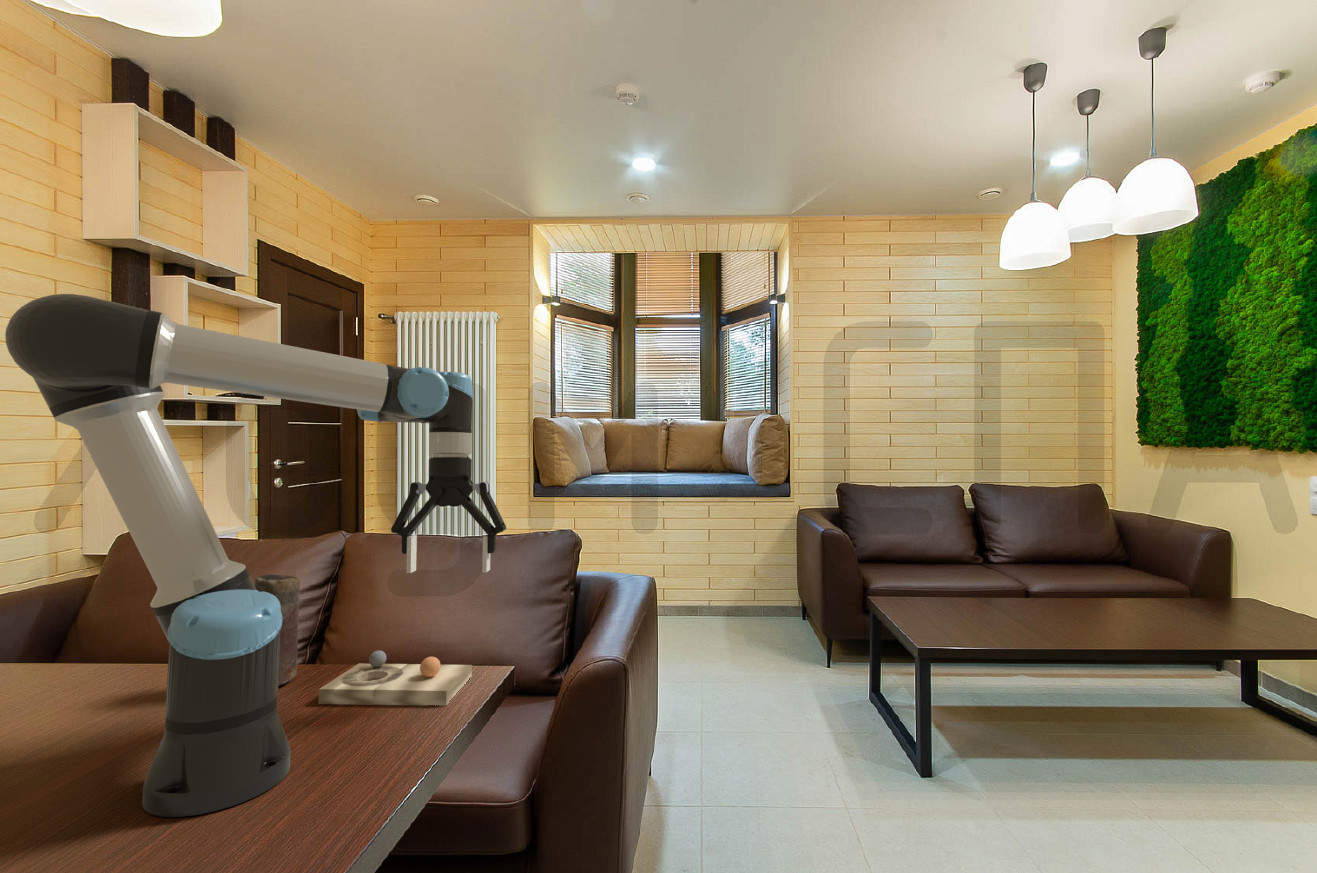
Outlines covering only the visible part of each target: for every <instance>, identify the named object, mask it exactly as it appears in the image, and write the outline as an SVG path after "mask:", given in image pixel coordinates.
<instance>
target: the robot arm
mask: <svg viewBox="0 0 1317 873" xmlns="http://www.w3.org/2000/svg"><path fill="white" fill-rule="evenodd" d="M4 336H5V337H4V338H5V344H6V348H7V351H8V354H10V356H11V358H12V360H13V361H14V363H15V364H16V365H17V366H18V367H19V368H20V369H21V370H23V371H24V372H25V373H26V374H27V375H29V376H30V377H32V378H33V380H34V382H35V385H36V386H37V388H38V390H39V392H40V393H41V395H42V398H43V400H44V401H45V403H46V405H47V407H48V409H49V411H50V414H52V416H53V418H54V421H55V422H57V423H61V424H63V425H67V426H69V427H73V428H74V429H75V430H77V433H79V435H80V438H81V440H82V442H83V444H84V446H85V447H86V450H87V452H88V453H89V455H90V458H91V459H92V461H93V463H94V465H95V468H96V469H97V471H98V473H99V475H100V477H101V479H102V481H103V483H104V485H105V487H106V489H107V490H108V493H109V496H110V497H111V499H112V501H113V503H114V505H115V506H116V508H117V511H118V513H119V515H120V517H121V518H122V520H123V522H124V525H125V527H126V528H127V530H128V532H129V534H130V536H131V538H132V540H133V542H134V544H135V546H136V548H137V550H138V552H139V554H140V556H141V558H142V560H143V561H144V564H145V566H146V568H147V570H148V572H149V574H150V576H151V578H152V580H153V582H154V584H155V586H156V588H157V589H156V593H155V594H154V596H153V598H152V600H151V602H150V603H149V605H150V608H151V610H152V612H153V614H154V615H155V617H156V620H157V621H158V623H159V625H160V627H161V630H162V631H163V633H164V635H165V637H166V639H167V641H168V661H167V679H166V680H167V681H166V697H165V698H166V699H165V718H164V719H165V721H164V722H165V723H164V733H163V737H162V739H161V741H160V743H159V746H158V748H157V750H156V754H155V755H154V757H153V760H152V762H151V764H150V767H149V770H148V772H147V774H146V777H145V779H144V782H143V785H142V786H143V787H142V797H141V798H142V800H141V805H142V809H143V810H144V811H146V812H147V813H149V814H151V815H154V816H158V817H166V818H179V817H181V818H182V817H192V816H197V815H203V814H209V813H212V812H216V811H220V810H223V809H227V808H230V807H233V806H236V805H238V804H241V803H244V802H247V801H249V800H251V799H254V798H256V797H258V796H260V795H262V794H264V793H265V792H268V791H269V790H270V789H272V788H273V787H275V786H277V785H278V784H279V783H280V782H282V780H283V779H285V777H287V775H288V773H289V772H290V768H291V747H290V744H289V741H288V738H287V735H286V733H285V730H284V726H283V725H282V722H281V718H280V716H279V713H278V697H279V696H278V694H279V692H278V691H279V686H278V674H279V648H280V629H281V626H282V619H283V618H282V613H281V605H280V602H279V600H278V599H277V598H276V597H275V596H274V595H272V594H270V593H267V592H259V591H258V590H257V589H256V587H255V582H254V581H253V579H252V576H251V574H250V573H249V571H248V569H247V566H246V564H244V563H241V562H237V561H234V560H233V561H232V560H230V559H229V558H228V556H227V553H226V551H225V549H224V547H223V545H222V543H221V540H220V538H219V536H218V534H217V532H216V530H215V528H214V525H213V523H212V522H211V519H210V518H209V516H208V513H207V511H206V510H205V506H204V504H203V503H202V500H201V499H200V497H199V494H198V492H197V490H196V488H195V486H194V484H193V482H192V480H191V478H190V474H188V471H187V469H186V467H185V465H184V463H183V460H182V459H181V457H180V455H179V452H178V450H177V448H176V446H175V444H174V441H173V440H172V437H171V436H170V433H169V431H168V430H167V427H166V425H165V423H164V421H163V419H162V417H161V415H160V413H159V411H158V408H159V406H160V403H161V401H162V399H163V398H164V396H165V393H164V390H163V387H162V386H161V385H163V384H175V385H180V386H181V385H182V386H186V387H187V386H188V387H194V388H203V389H209V390H210V389H211V390H216V391H222V392H223V391H224V392H230V393H237V394H239V393H240V394H245V395H254V396H260V397H268V398H273V399H274V398H275V399H281V400H282V399H283V400H289V401H295V402H303V403H310V404H317V405H324V406H332V407H338V408H346V409H353V410H356V412H357V415H358V417H359V418H360V419H361V420H362V421H367V422H368V421H369V422H377V423H382V422H383V423H414V424H415V423H416V424H417V423H420V424H429V429H428V430H429V431H428V434H429V437H428V438H429V439H428V445H429V446H428V454H430V455H432V456H431V457H429V459H428V481H427V483H423V482H422V483H421V482H420V481H415V482H411V483H410V484H409V492H408V495H407V498H406V500H405V502H404V503H403V505H402V507H401V509H400V511H399V512H398V515H397V517H396V519H395V520H394V522H393V523H392V524H393V525H392V526H391V529H390V531H391V533H393V534H397V535H399V536H401V553H402V554H403V555H406V574H412V573H414V572H416V571H417V547H418V545H417V542H418V541H417V539H418V535H417V534H415V535H414V532H415V531H416V530H417V528H418V527H420V525H421V524H422V523H423V521H425V520H426V518H427V517H428V516H429V514H431V512H432V511H434V509H435V508H436V507H437V506H438V507H440V508H441V507H442V508H444V507H460V506H461V507H462V508H463V509H464V510H466V511H467V512H468V513H469V515H470V516H471V517H472V518H473V519H474V521H475V522H476V523H477V524H478V525H479V526H480V528H481V529H482V530H483V531H484V532H485V535H483V536H482V558H481V559H482V561H481V562H482V565H481V566H482V570H481V572H482V573H488V572H489V571H490V570H491V554H494V553H495V552H496V549H497V534H500V533H503V532H504V531H506V529H507V525H506V523H505V521H504V520H503V517H502V514H500V511H499V509H498V507H497V505H496V503H495V501H494V499H493V497H492V495H491V493H490V492H491V490H490V484H489V481H481V482H479V483H473V480H472V471H473V469H472V468H473V467H472V465H473V463H472V459H471V457H469V455H472V453H473V452H472V450H473V449H472V448H473V429H472V428H473V426H472V425H473V404H474V403H473V402H474V393H473V391H474V389H473V381H472V378H471V376H469V374H466V373H463V372H459V371H458V372H456V371H437V370H435V369H433V368H430V367H426V366H425V367H424V366H423V367H421V366H420V367H419V366H418V367H411V368H407V367H403V366H398V365H390V364H385V363H381V362H378V361H377V362H376V361H372V360H371V361H370V360H366V359H360V358H355V357H350V356H344V355H340V354H334V353H330V352H329V353H328V352H323V351H319V350H315V349H314V350H313V349H308V348H304V347H299V346H292V345H288V344H282V343H278V342H271V341H268V340H264V339H263V340H262V339H257V338H253V337H251V338H250V337H247V336H241V335H236V334H231V333H230V334H229V333H225V332H220V331H216V330H211V329H205V328H200V327H194V326H191V325H190V326H189V325H185V324H178V323H176V322H174V321H173V320H172V319H171V317H169V316H168V315H167V313H163V312H161V311H155V310H149V309H144V308H141V307H136V306H132V305H129V304H128V305H127V304H123V303H119V302H116V301H115V302H114V301H110V300H106V299H103V298H97V297H93V296H89V295H82V294H74V293H59V294H57V293H56V294H49V295H45V296H42V297H38V298H35V299H33V300H31V301H29V302H27V303H25V304H24V305H22V306H21V307H19V308H18V309H17V310H16V311H15V313H13V315H12V316H11V317H10V319H9V321H8V324H7V326H6V329H5V335H4ZM425 491H426V493H427V494H428V495H429V498H428V500H426V502H425V503H424V504H423V506H422V507H421V509H419V510H418V512H417V513H416V514H415V515H414V517H413V518H412V519H411V520H410V521H409V518H410V516H411V514H412V512H413V510H414V508H415V507H416V505H417V503H418V501H419V499H420V496H421V495H423V494H424V493H425ZM474 491H475V492H476V493H477V495H480V498H481V501H482V503H483V504H484V507H485V509H486V511H487V513H488V515H489V517H490V519H491V521H492V522H490V520H489V519H488V518H487V516H485V514H484V513H483V512H482V511H481V509H479V507H478V506H477V505H476V504H475V502H474V500H473V499H472V498H471V497H470V495H471V494H472V493H473V492H474ZM408 521H409V522H408ZM407 522H408V524H407ZM492 523H493V524H492Z"/></svg>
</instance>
